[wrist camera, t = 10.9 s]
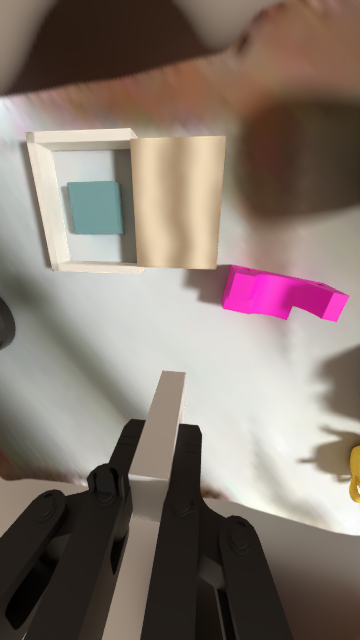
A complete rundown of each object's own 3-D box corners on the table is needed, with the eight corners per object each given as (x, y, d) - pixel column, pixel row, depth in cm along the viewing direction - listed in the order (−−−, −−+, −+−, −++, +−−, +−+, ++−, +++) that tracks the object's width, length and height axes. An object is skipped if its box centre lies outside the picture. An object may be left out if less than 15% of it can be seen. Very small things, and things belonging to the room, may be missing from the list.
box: (65, 267, 40) (52, 270, 37) (42, 141, 33) (24, 132, 30) (144, 270, 39) (138, 274, 36) (138, 138, 32) (130, 128, 29)
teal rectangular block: (85, 233, 38) (75, 234, 35) (78, 186, 35) (66, 182, 33) (125, 233, 37) (118, 234, 34) (120, 184, 35) (113, 180, 32)
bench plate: (144, 262, 38) (137, 266, 35) (138, 148, 32) (129, 138, 29) (215, 265, 37) (216, 269, 33) (224, 146, 31) (226, 135, 27)
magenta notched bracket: (221, 300, 39) (223, 315, 32) (231, 264, 37) (235, 272, 30) (307, 318, 39) (328, 337, 32) (323, 283, 36) (349, 296, 29)
